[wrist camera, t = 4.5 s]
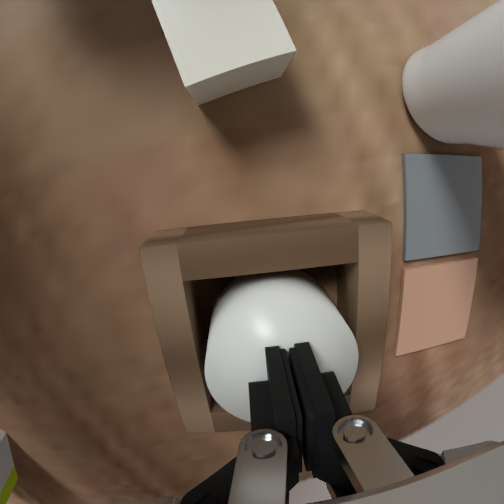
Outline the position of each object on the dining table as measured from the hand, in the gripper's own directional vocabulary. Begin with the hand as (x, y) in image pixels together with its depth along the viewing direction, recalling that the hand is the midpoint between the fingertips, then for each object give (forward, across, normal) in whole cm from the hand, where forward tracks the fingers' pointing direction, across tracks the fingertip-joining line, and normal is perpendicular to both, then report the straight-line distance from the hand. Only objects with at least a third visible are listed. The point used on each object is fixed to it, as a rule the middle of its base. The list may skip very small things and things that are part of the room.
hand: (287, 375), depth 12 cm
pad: (+5, -10, +1) cm, 11 cm away
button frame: (+5, 0, 0) cm, 5 cm away
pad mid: (+5, -10, -5) cm, 12 cm away
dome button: (+4, 0, 0) cm, 4 cm away
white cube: (+5, +1, -13) cm, 14 cm away
